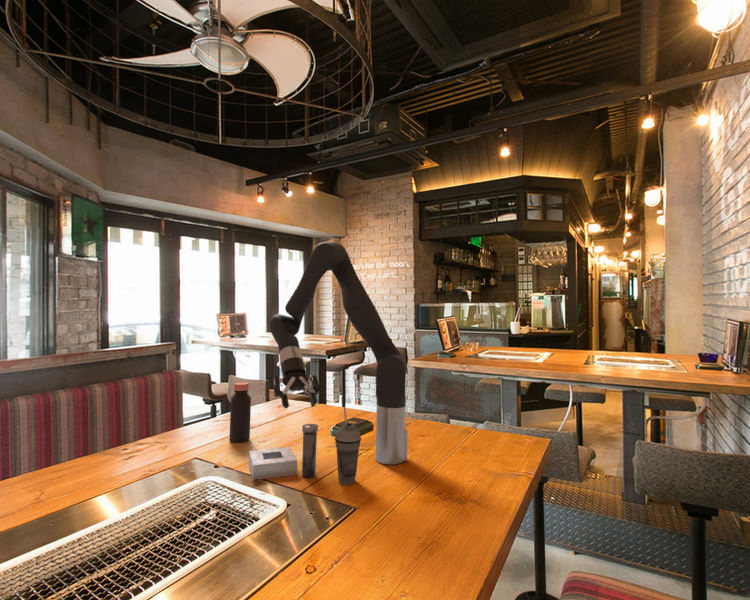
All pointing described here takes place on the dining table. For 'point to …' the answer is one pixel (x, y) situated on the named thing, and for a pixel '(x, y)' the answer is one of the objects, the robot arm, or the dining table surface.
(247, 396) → the bottle
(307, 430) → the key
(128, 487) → the dining table surface
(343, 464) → the beverage cup
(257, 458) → the block
